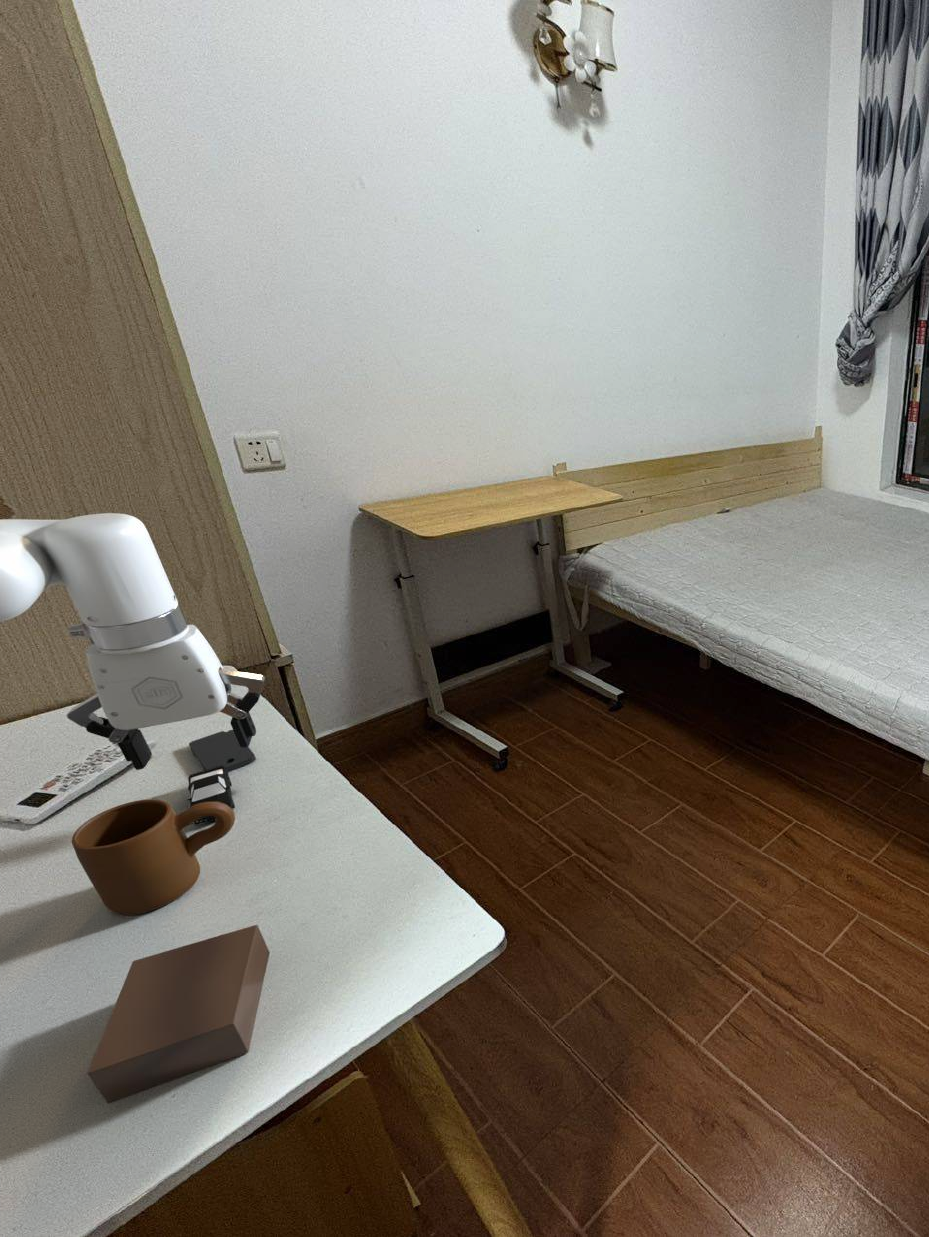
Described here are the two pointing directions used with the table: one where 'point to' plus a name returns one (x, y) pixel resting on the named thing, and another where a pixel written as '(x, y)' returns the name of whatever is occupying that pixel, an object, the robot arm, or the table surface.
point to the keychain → (221, 751)
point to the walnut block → (181, 1013)
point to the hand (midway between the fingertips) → (197, 751)
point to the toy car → (210, 789)
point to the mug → (146, 852)
